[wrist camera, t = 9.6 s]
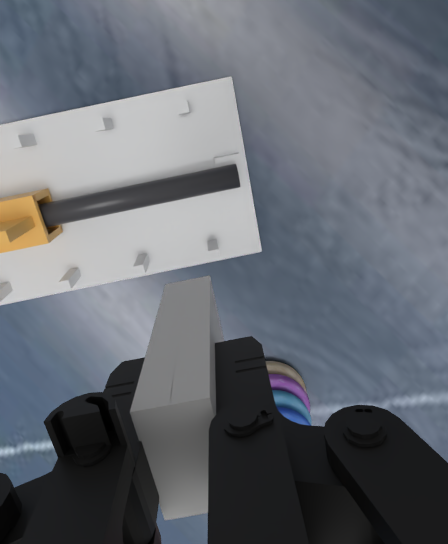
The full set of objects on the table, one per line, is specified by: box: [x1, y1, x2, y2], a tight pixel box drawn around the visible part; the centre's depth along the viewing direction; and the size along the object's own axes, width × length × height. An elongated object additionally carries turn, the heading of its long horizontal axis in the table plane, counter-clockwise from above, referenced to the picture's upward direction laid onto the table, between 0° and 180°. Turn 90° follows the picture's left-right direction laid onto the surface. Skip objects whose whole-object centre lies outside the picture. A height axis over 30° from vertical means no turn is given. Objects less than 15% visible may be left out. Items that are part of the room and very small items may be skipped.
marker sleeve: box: [0, 188, 63, 253], centre depth 30 cm, size 5×4×8 cm
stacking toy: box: [266, 361, 311, 426], centre depth 34 cm, size 8×8×19 cm
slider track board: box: [0, 76, 262, 305], centre depth 33 cm, size 26×14×6 cm, turn 101°
